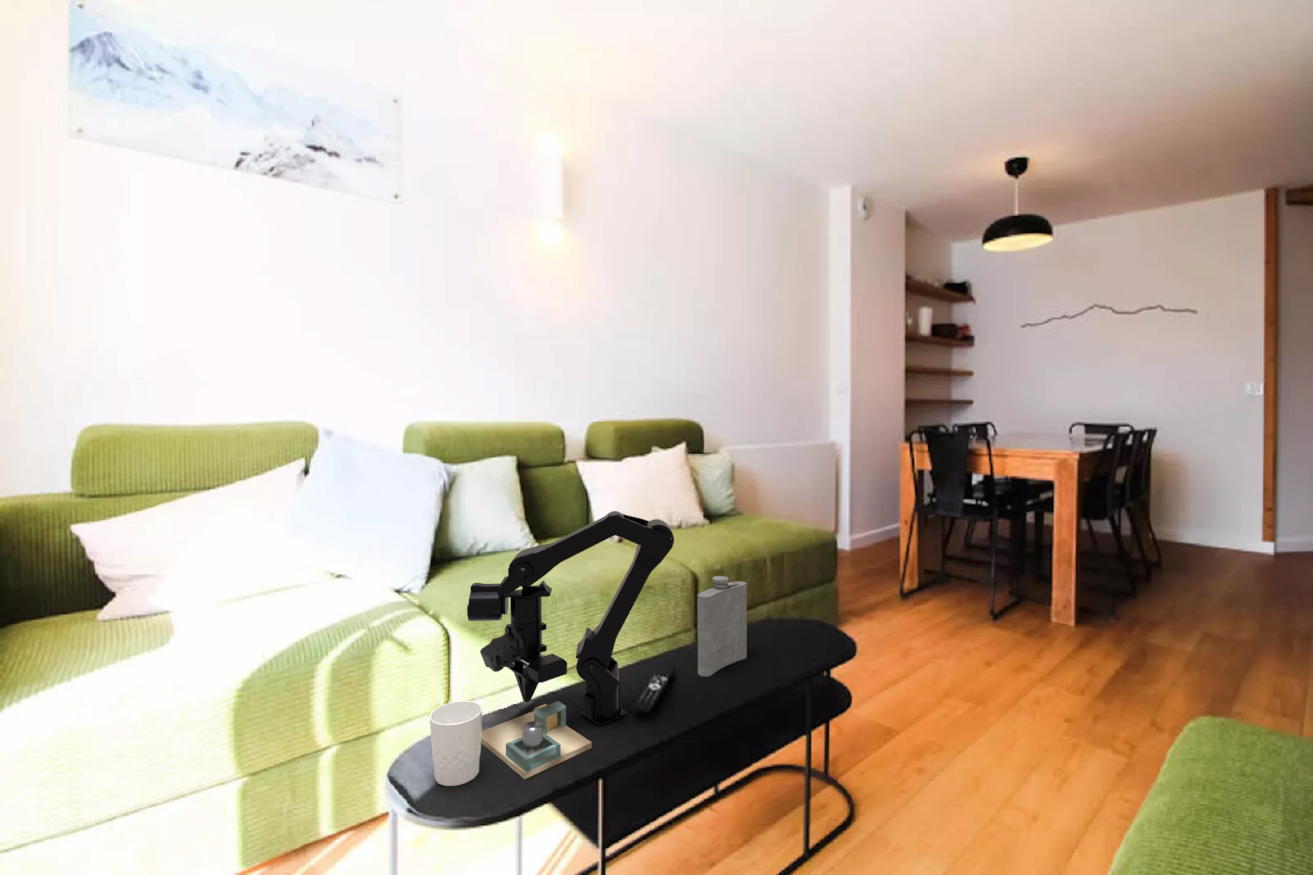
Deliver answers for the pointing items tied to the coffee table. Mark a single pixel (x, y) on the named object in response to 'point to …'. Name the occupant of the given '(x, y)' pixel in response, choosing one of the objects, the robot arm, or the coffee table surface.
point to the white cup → (456, 741)
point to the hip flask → (722, 625)
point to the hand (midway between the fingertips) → (526, 701)
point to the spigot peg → (532, 737)
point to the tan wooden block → (550, 719)
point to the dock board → (556, 741)
